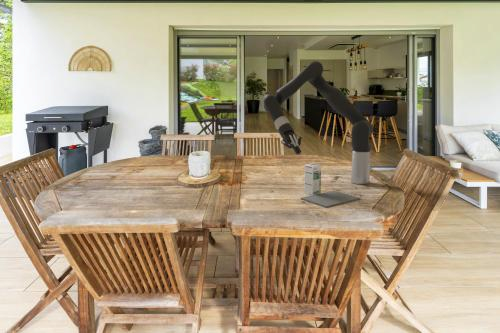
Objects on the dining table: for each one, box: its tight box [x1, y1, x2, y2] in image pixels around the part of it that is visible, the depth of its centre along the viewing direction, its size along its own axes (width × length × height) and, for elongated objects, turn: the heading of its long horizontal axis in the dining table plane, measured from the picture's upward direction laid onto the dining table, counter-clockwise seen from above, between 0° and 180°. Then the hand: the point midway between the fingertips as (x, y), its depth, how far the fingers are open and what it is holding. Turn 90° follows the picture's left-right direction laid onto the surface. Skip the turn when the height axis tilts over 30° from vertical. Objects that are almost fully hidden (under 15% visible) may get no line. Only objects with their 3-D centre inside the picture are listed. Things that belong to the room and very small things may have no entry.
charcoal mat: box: [300, 190, 361, 208], centre depth 176 cm, size 22×16×1 cm
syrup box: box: [303, 162, 322, 196], centre depth 184 cm, size 6×6×14 cm
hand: (299, 153), depth 192 cm, fingers closed
